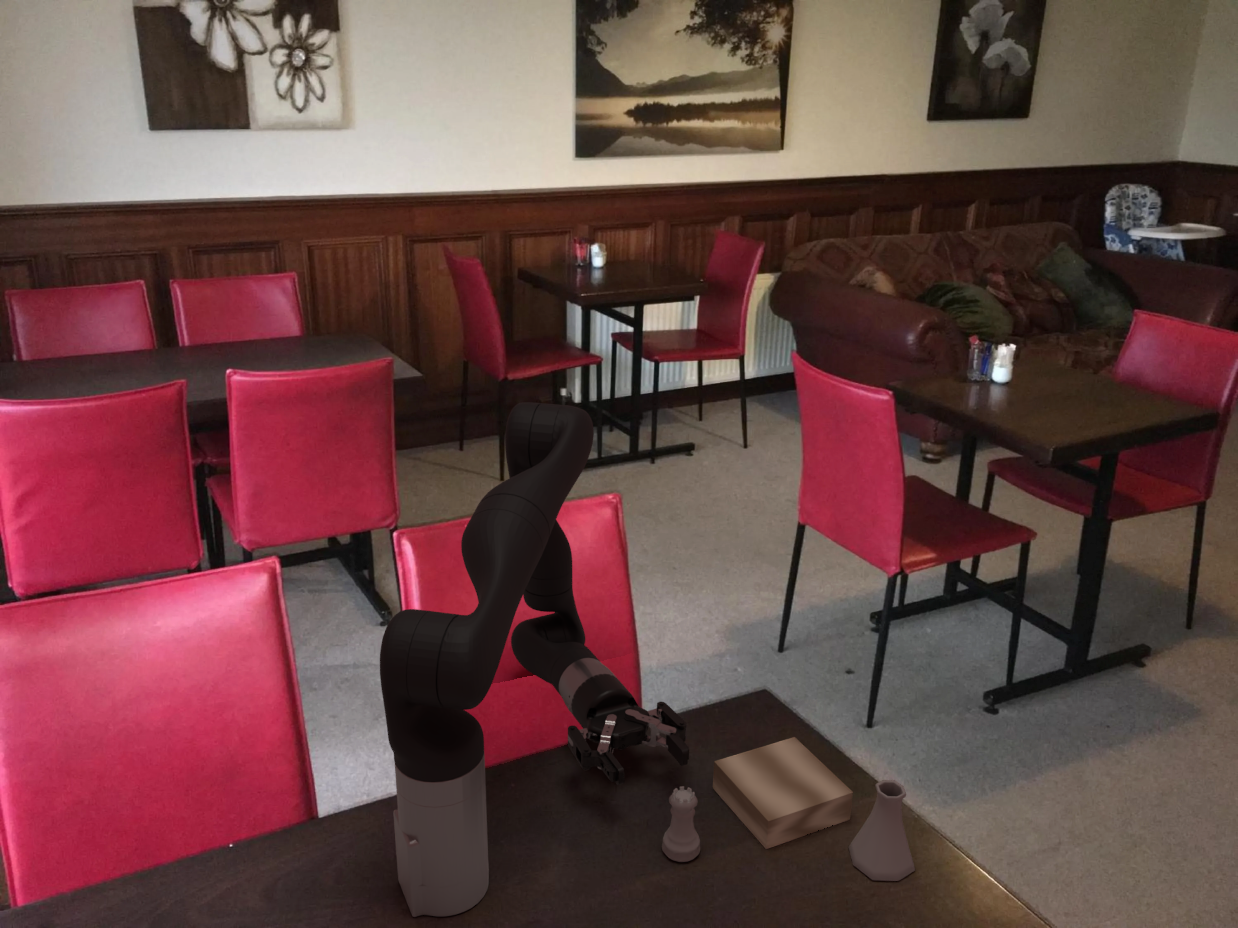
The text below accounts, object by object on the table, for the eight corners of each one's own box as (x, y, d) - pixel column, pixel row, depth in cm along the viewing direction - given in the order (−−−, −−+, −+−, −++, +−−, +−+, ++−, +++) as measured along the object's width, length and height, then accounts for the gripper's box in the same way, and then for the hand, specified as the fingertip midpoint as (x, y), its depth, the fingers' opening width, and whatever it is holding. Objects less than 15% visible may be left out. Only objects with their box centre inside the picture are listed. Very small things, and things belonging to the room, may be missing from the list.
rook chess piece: (700, 838, 120) (704, 782, 118) (699, 865, 116) (703, 808, 113) (662, 835, 121) (664, 779, 118) (660, 862, 117) (662, 804, 114)
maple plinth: (766, 849, 119) (768, 820, 118) (712, 787, 129) (714, 761, 128) (849, 819, 124) (853, 792, 122) (792, 762, 134) (794, 736, 133)
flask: (837, 844, 120) (845, 774, 116) (892, 832, 122) (901, 762, 118) (869, 889, 113) (879, 815, 110) (926, 875, 115) (937, 803, 112)
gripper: (545, 685, 131) (600, 757, 118) (645, 661, 137) (707, 726, 124) (546, 735, 134) (599, 811, 120) (643, 708, 140) (704, 778, 126)
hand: (654, 768), depth 122 cm, fingers open, 8 cm apart
